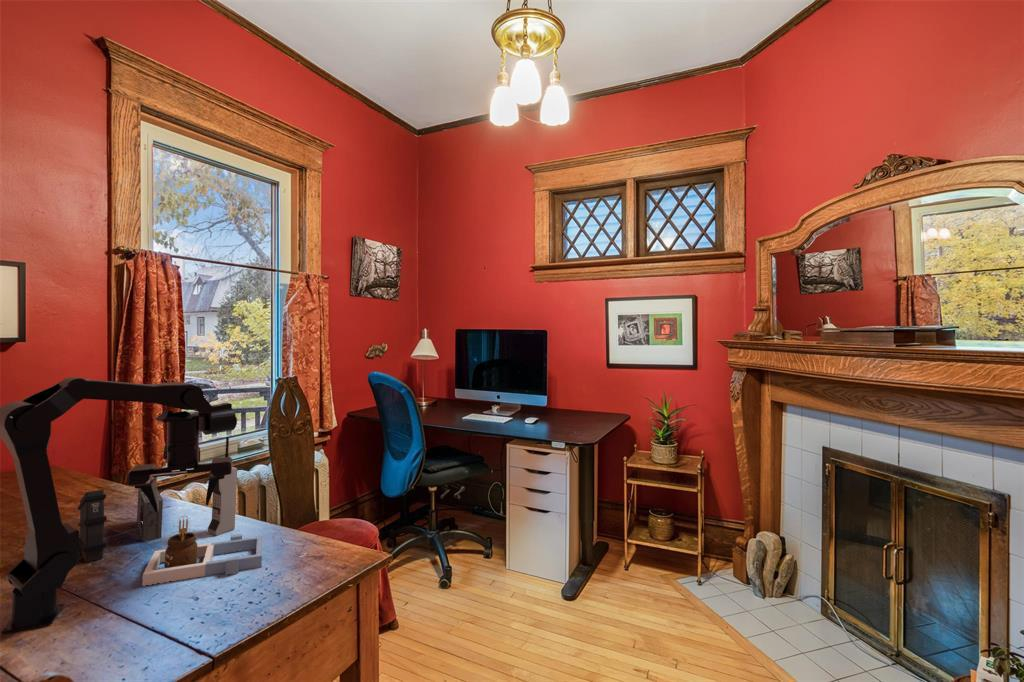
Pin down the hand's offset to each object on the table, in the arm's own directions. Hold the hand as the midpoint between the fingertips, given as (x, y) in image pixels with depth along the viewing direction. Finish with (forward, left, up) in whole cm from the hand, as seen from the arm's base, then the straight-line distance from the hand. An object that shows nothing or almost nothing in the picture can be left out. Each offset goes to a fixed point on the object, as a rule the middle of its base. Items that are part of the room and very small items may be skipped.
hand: (182, 508), depth 103 cm
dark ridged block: (+17, +20, -14) cm, 29 cm away
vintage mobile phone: (+19, -6, -14) cm, 24 cm away
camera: (+27, +11, -14) cm, 32 cm away
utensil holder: (0, 0, -14) cm, 14 cm away
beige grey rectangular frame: (0, -5, -13) cm, 14 cm away
